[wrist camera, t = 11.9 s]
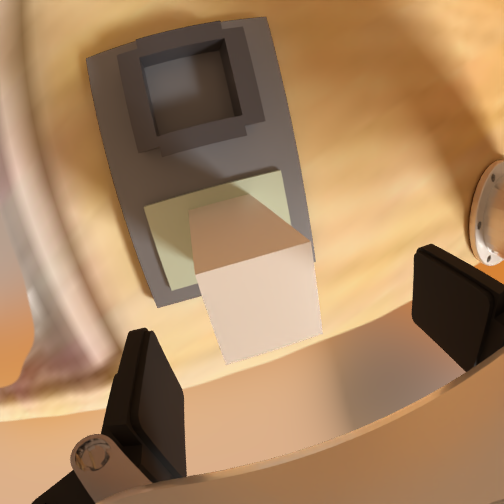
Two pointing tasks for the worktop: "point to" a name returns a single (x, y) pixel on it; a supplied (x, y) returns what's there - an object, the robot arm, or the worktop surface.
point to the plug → (253, 277)
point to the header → (195, 138)
